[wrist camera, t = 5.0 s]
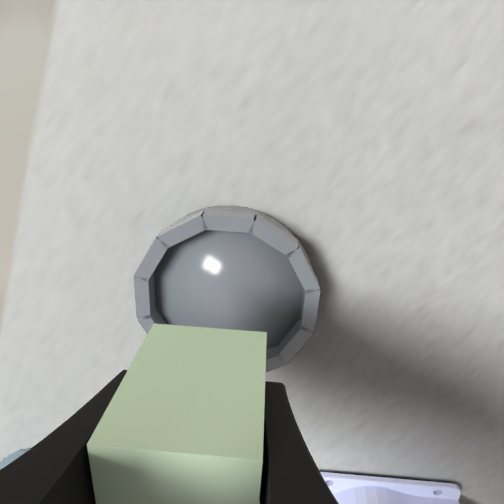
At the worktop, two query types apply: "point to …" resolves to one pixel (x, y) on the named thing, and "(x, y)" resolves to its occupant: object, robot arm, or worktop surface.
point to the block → (185, 421)
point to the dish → (231, 279)
